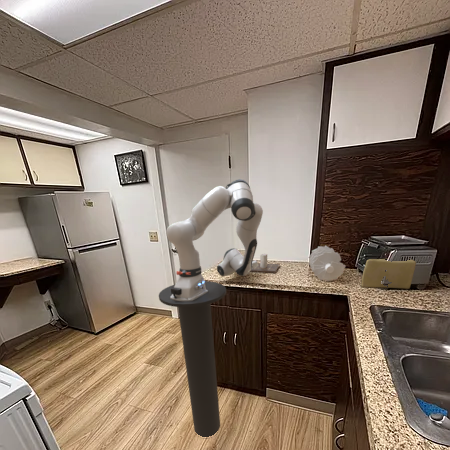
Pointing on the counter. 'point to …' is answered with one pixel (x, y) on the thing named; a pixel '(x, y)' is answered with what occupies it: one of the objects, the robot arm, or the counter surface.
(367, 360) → the counter surface
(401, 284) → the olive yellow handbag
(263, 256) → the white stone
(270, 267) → the board
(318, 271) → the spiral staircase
